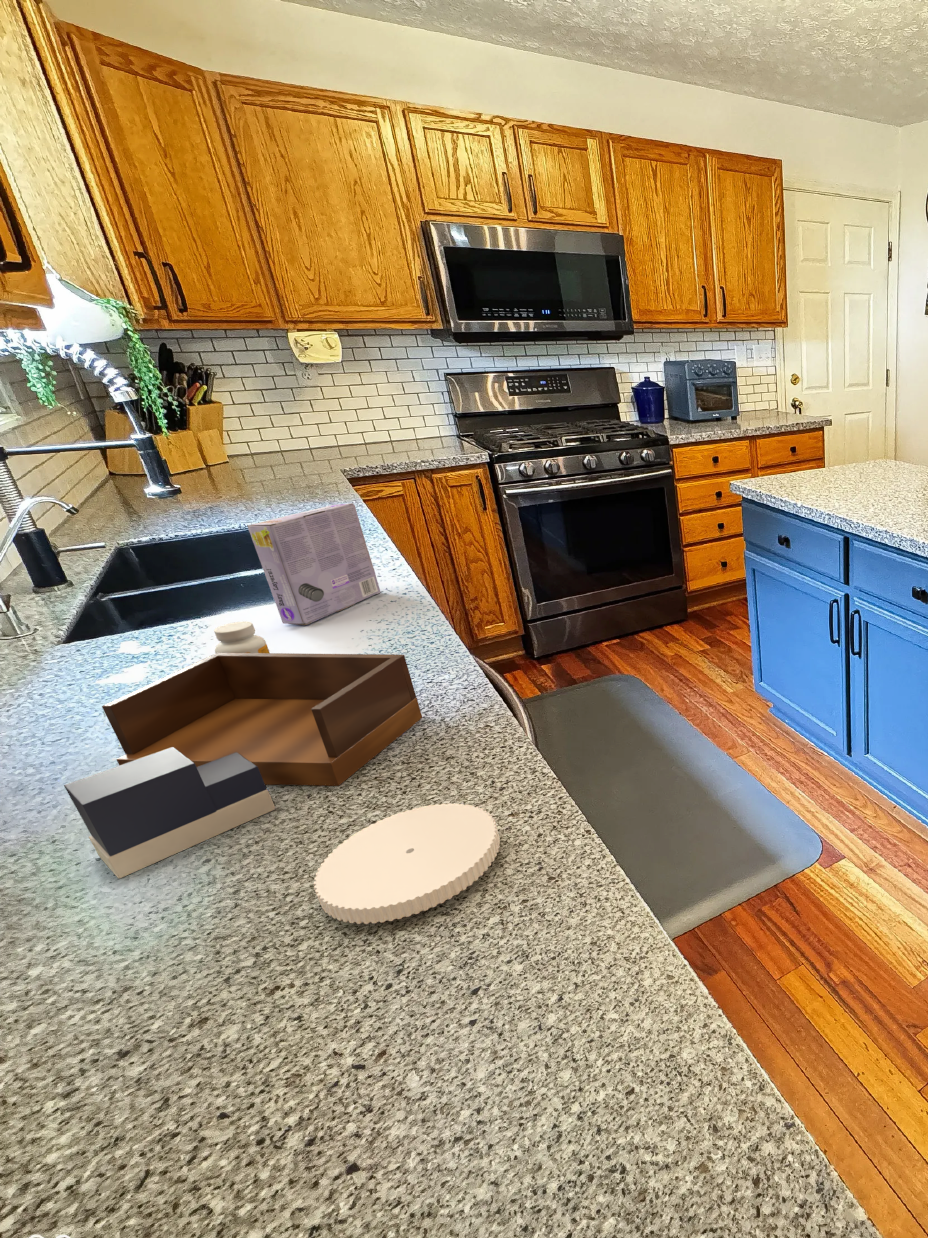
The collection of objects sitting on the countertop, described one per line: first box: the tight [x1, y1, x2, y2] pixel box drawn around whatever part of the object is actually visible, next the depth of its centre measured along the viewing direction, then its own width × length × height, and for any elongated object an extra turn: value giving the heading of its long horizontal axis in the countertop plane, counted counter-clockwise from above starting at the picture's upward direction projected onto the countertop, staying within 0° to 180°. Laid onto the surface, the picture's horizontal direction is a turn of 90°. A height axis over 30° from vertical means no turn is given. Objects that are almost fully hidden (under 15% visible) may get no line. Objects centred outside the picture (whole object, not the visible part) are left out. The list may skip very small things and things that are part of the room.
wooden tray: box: [101, 652, 423, 787], centre depth 81 cm, size 24×15×9 cm, turn 88°
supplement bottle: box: [213, 620, 270, 654], centre depth 95 cm, size 5×5×10 cm
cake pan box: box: [247, 502, 381, 626], centre depth 124 cm, size 19×5×18 cm, turn 174°
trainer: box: [63, 747, 277, 880], centre depth 67 cm, size 12×6×8 cm, turn 148°
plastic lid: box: [313, 802, 501, 925], centre depth 62 cm, size 14×14×2 cm
